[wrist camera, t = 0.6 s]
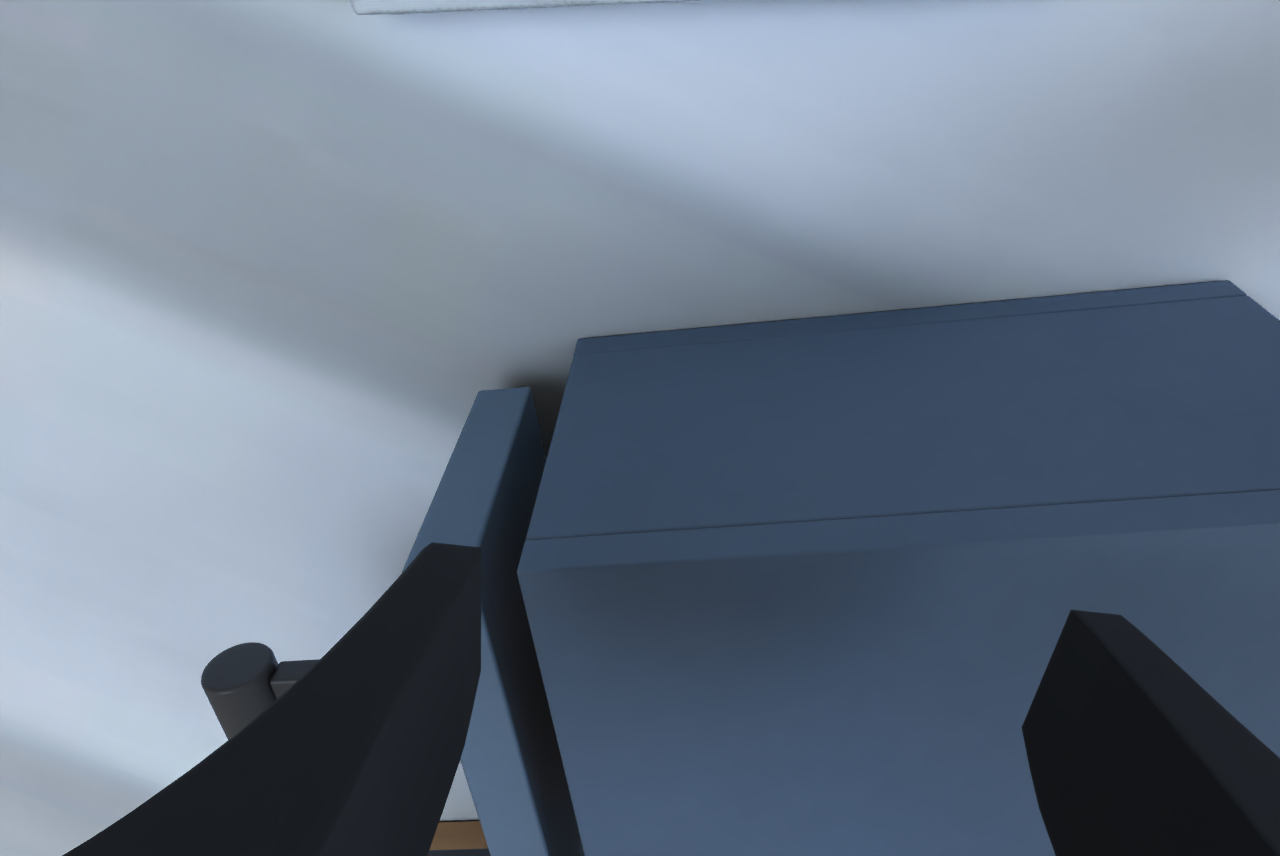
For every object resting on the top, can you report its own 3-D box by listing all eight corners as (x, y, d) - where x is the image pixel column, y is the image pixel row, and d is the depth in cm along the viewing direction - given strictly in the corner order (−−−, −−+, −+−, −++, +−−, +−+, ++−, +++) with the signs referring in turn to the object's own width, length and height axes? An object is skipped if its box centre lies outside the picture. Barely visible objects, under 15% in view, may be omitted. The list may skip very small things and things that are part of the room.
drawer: (397, 804, 28) (325, 1027, 23) (248, 409, 21) (94, 593, 16) (1023, 781, 26) (1106, 1020, 21) (1073, 338, 20) (1216, 521, 14)
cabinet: (654, 782, 28) (638, 1082, 21) (577, 338, 21) (515, 572, 14) (1134, 765, 27) (1285, 1080, 20) (1229, 279, 20) (1520, 508, 13)
